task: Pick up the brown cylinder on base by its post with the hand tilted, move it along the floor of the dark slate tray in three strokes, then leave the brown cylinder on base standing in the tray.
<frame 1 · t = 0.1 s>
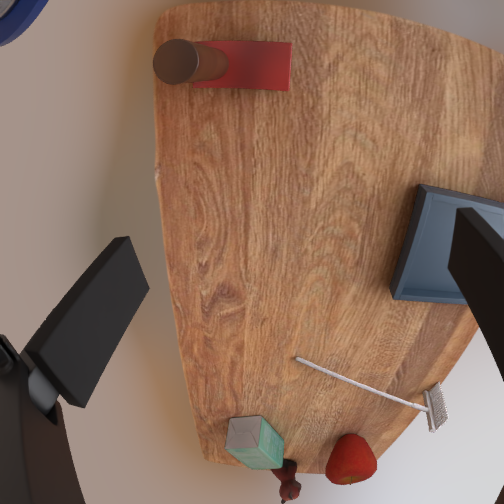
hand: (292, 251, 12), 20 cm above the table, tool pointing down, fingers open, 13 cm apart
stuffed fox: (282, 460, 69), on the table
apple: (350, 436, 58), on the table
tray: (465, 248, 32), on the table
box: (258, 429, 60), on the table
brown cylinder on base: (219, 64, 26), on the table
brush 2: (377, 375, 46), on the table
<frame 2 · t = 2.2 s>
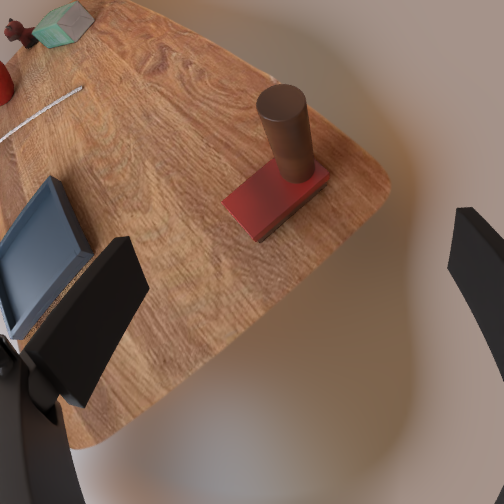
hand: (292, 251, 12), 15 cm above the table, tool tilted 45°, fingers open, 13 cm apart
stuffed fox: (38, 39, 55), on the table
apple: (9, 98, 50), on the table
tray: (37, 260, 35), on the table
box: (70, 35, 49), on the table
brown cylinder on base: (300, 181, 28), on the table
brush 2: (24, 139, 42), on the table
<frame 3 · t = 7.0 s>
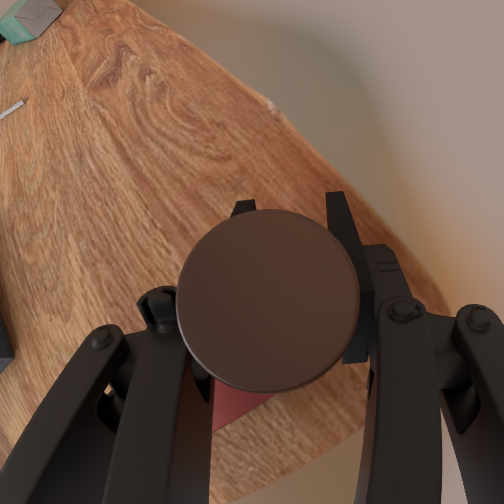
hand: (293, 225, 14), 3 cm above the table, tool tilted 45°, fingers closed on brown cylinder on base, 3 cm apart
box: (36, 29, 36), on the table
brown cylinder on base: (302, 318, 16), on the table, touching gripper
when the fingers open (4 cm above the table, at t = 19.4 s): brown cylinder on base stays where it is, resting on tray.
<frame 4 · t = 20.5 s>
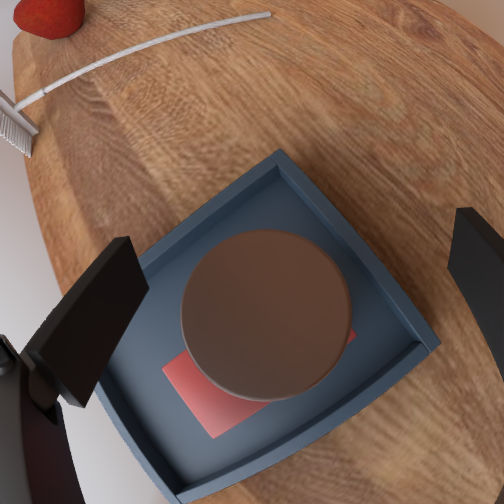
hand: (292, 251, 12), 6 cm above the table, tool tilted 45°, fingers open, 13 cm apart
apple: (73, 31, 33), on the table
tray: (233, 343, 18), on the table
brown cylinder on base: (300, 322, 16), point 1 cm above the table, touching tray
brush 2: (128, 79, 25), on the table
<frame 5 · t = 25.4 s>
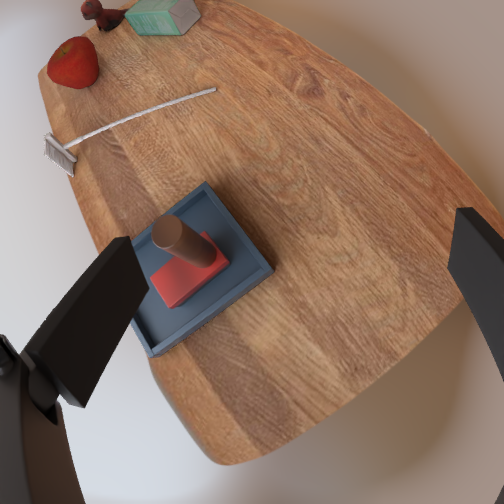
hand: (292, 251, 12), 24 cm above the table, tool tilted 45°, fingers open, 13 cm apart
stuffed fox: (116, 23, 59), on the table
apple: (90, 81, 53), on the table
tray: (183, 271, 38), on the table
box: (168, 26, 53), on the table
brown cylinder on base: (211, 260, 37), point 1 cm above the table, touching tray
brush 2: (133, 131, 46), on the table
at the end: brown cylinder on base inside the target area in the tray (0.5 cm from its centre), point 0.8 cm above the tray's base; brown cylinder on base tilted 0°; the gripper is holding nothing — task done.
